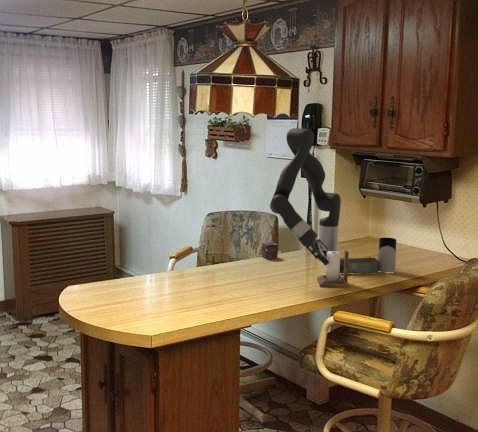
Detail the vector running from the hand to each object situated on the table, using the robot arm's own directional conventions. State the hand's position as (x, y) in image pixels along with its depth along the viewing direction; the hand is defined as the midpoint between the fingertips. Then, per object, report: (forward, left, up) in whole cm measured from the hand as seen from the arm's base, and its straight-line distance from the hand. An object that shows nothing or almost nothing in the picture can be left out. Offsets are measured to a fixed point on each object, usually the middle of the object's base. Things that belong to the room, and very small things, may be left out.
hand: (329, 261), depth 246 cm
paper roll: (0, +1, -8) cm, 8 cm away
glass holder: (-24, +30, -9) cm, 39 cm away
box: (-44, -24, -9) cm, 51 cm away
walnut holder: (+1, +2, -9) cm, 9 cm away
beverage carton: (-19, +15, -10) cm, 26 cm away
